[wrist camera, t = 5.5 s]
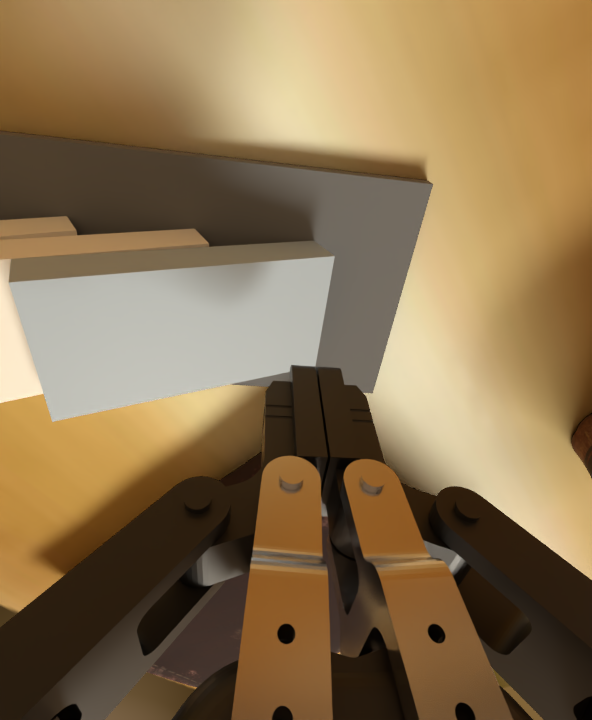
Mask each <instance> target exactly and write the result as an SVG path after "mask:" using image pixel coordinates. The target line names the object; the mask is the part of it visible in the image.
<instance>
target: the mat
mask: <svg viewBox="0 0 592 720" xmlns="http://www.w3.org/2000/svg"><path fill="white" fill-rule="evenodd" d="M432 186H433V184H432V183H431V182H429V181H427V180H419V179H410V178H401V177H393V176H384V175H376V174H367V173H358V172H350V171H341V170H333V169H324V168H315V167H307V166H298V165H290V164H281V163H273V162H264V161H255V160H247V159H238V158H230V157H221V156H212V155H204V154H195V153H187V152H178V151H170V150H161V149H152V148H144V147H135V146H127V145H118V144H109V143H101V142H92V141H84V140H75V139H66V138H58V137H49V136H41V135H32V134H24V133H15V132H6V131H0V220H11V219H27V218H43V217H59V216H67V217H68V219H69V220H70V222H71V223H72V225H73V226H74V228H75V229H76V231H77V235H92V234H109V233H126V232H143V231H160V230H177V229H195V230H196V231H197V232H198V233H199V234H200V235H201V236H202V237H203V238H204V239H205V240H206V241H207V242H208V243H209V247H215V246H231V245H248V244H265V243H281V242H298V241H315V242H317V243H318V244H319V245H321V246H322V247H323V248H325V249H326V250H327V251H329V252H330V253H331V254H333V255H334V256H335V258H334V264H333V269H332V275H331V281H330V286H329V292H328V298H327V303H326V309H325V315H324V320H323V326H322V332H321V337H320V343H319V349H318V354H317V360H316V366H317V367H333V368H340V369H341V371H342V376H343V380H344V385H357V387H358V388H359V389H360V390H361V391H362V393H373V390H374V386H375V383H376V379H377V376H378V373H379V369H380V366H381V362H382V359H383V355H384V352H385V348H386V345H387V341H388V338H389V335H390V331H391V328H392V324H393V321H394V317H395V314H396V310H397V307H398V303H399V300H400V296H401V293H402V290H403V286H404V283H405V279H406V276H407V272H408V269H409V265H410V262H411V258H412V255H413V252H414V248H415V245H416V241H417V238H418V234H419V231H420V227H421V224H422V220H423V217H424V214H425V210H426V207H427V203H428V200H429V196H430V193H431V189H432ZM316 366H315V368H316ZM289 373H290V372H286V373H281V374H277V375H272V376H267V377H262V378H258V379H253V380H248V381H243V382H239V383H234V384H232V385H248V386H265V387H269V386H270V385H271V383H272V382H273V381H289Z"/></svg>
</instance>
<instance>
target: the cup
mask: <svg viewBox="0 0 592 720" xmlns="http://www.w3.org/2000/svg"><path fill="white" fill-rule="evenodd" d="M572 446H573V449H574V451H575V452H576V454H577V455H578V456H579V458H580V459H581V460H582V462H583V463H584V465H585V467H586V468H587V470H588V472H589V474H590V476H591V478H592V414H591V415H590V416H587V417H586V418H585V419H584V420H583V421H582V422H581V423H580V424H579V426H578V429H577V431H576V432H575V434H574V435H573V437H572Z"/></svg>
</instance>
